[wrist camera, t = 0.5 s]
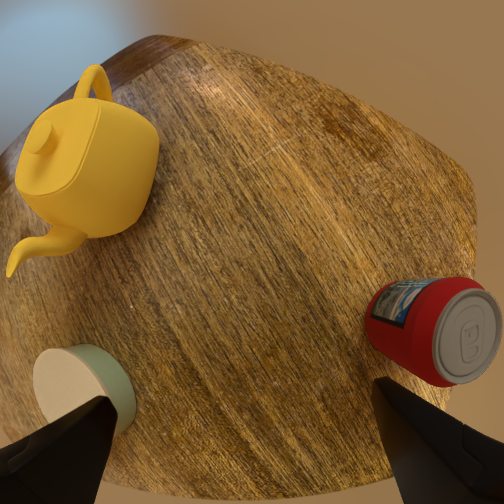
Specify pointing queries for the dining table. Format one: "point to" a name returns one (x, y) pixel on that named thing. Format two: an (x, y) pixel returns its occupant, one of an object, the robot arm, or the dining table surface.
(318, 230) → the dining table surface
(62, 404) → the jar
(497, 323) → the beverage can
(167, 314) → the dining table surface
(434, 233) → the dining table surface
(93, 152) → the teapot
